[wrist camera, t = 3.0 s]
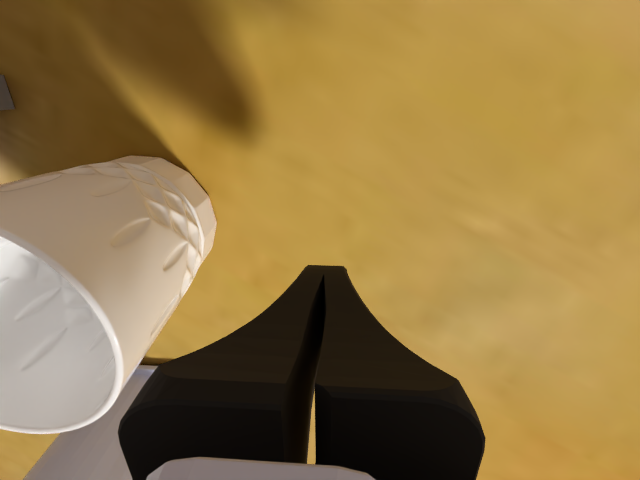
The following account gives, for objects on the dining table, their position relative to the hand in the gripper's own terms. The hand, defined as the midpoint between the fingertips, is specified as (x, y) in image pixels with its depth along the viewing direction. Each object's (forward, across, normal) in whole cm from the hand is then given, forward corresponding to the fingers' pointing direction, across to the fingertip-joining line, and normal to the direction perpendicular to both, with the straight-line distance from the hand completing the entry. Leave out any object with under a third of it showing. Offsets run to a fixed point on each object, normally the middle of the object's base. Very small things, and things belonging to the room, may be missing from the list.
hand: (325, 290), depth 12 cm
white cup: (+7, +10, 0) cm, 12 cm away
